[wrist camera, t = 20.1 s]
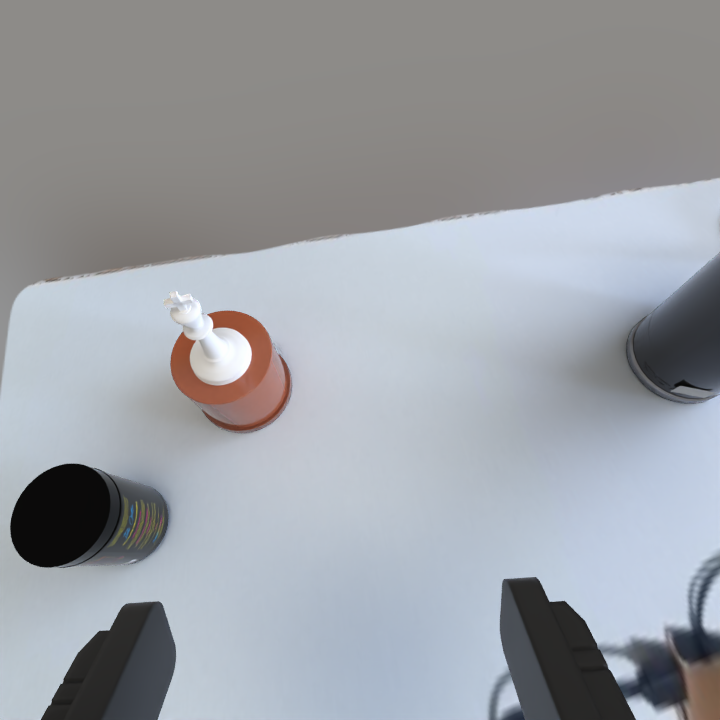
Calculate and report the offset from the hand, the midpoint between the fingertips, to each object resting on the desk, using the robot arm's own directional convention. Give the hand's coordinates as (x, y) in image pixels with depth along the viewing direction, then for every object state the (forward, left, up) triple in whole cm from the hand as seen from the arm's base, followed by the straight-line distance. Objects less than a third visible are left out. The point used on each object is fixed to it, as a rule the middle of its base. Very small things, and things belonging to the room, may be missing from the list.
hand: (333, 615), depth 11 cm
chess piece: (-3, -20, -23) cm, 30 cm away
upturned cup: (-3, -20, -31) cm, 37 cm away
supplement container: (+12, -17, -31) cm, 37 cm away
